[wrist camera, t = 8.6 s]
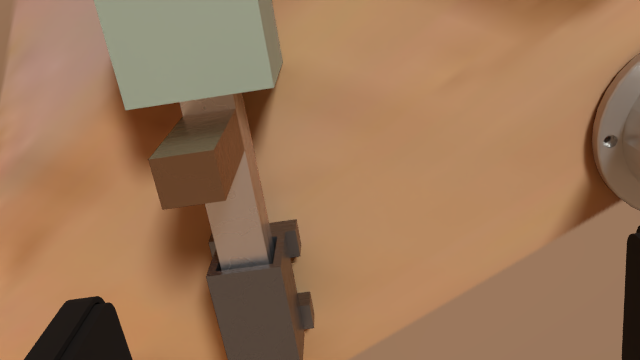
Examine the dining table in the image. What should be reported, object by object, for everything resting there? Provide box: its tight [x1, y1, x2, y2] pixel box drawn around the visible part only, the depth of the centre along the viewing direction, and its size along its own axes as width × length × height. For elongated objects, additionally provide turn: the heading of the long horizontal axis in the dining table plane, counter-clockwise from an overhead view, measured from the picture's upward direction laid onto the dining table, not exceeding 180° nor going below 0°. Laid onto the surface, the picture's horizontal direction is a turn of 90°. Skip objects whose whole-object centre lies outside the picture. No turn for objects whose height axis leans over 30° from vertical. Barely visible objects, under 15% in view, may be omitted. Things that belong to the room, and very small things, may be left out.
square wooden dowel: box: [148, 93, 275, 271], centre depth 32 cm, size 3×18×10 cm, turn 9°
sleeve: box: [206, 220, 314, 360], centre depth 40 cm, size 6×8×6 cm
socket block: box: [94, 0, 283, 110], centre depth 33 cm, size 8×6×7 cm
